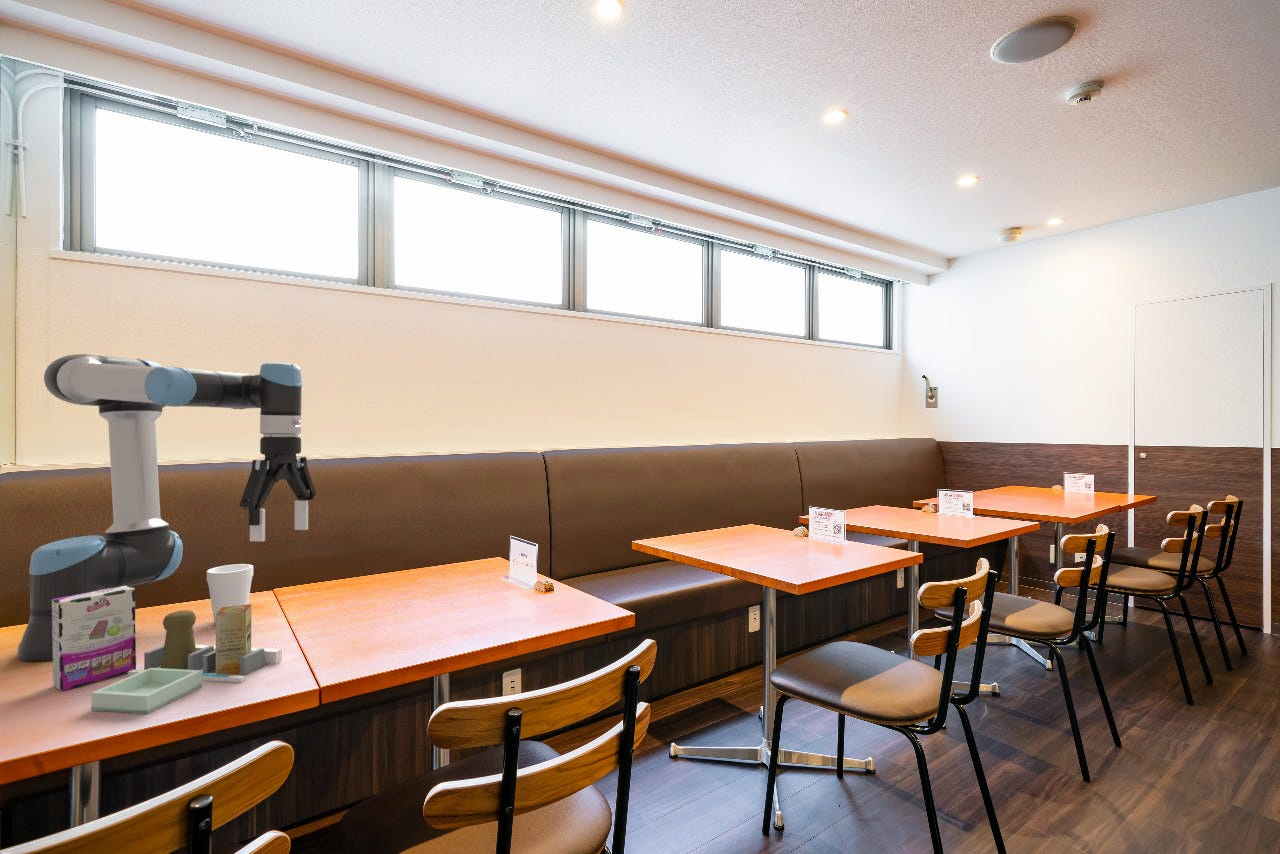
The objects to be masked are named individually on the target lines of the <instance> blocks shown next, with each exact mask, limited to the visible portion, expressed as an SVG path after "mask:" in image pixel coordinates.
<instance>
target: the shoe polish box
mask: <svg viewBox="0 0 1280 854" xmlns="http://www.w3.org/2000/svg"><path fill="white" fill-rule="evenodd" d="M215 646H216V670H215V674H231V675H240V658H241V657H243V656H245V655H247V654H249V653H251V647H252V604H250V603H249V604H248V605H240V606H230V607H222V608H221V609H220V610H219V611H218V612H217V614H216V624H215Z"/></svg>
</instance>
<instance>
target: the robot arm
mask: <svg viewBox="0 0 1280 854" xmlns="http://www.w3.org/2000/svg"><path fill="white" fill-rule="evenodd" d="M260 365H261V366H260V371H259V373H237V372H227V371H226V372H224V371H215V370H203V369H202V370H201V369H196V368H195V369H194V368H182V367H179V366H178V367H176V366H162V365H161V364H160V363H157V362H154V361H152V360H151V361H150V360H143V359H140V358H128V357H118V356H116V357H115V356H105V355H94V354H87V353H85V354H84V353H82V354H77V353H76V354H70V355H65V356H62V357H59V358H57V359H55V360H53V361H52V362H51V363H49V365H48V366H47V367H46V369H45V371H44V375H43V382H44V385H45V387H46V389H47V391H48V392H50V395H53V396H54V397H55V398H57V399H58V400H61V401H63V402H66V403H68V404H69V403H70V404H73V405H78V406H92V407H98V415H99V416H100V417H101V418H103V419H104V420H105V421H107V423H108V424H107V425H108V426H107V427H108V440H109V441H108V442H109V459H110V460H109V461H110V479H111V493H112V494H111V497H112V501H111V502H112V516H113V517H112V518H113V523H112V524H111V526H109V528H107V529H106V530H105V537H104V536H103V535H100V534H99V535H97V534H95V535H94V534H93V535H83V536H78V537H69V538H63V539H59V540H56V541H52V542H49V543H45V544H43V545H40V546H39V547H38V548H36V549H35V550H34V551H32V553H31V555H30V563H29V568H28V573H29V621H28V622H27V625H26V627H25V630H24V633H23V635H22V638H21V641H20V643H18V647H17V659H18V660H21V661H25V662H41V661H53V644H52V641H53V636H52V599H56V598H62V597H67V596H72V595H77V594H83V593H88V592H93V591H99V590H104V589H109V588H115V587H121V586H129V587H134V586H137V585H142V584H152V583H154V582H156V581H159V580H163V579H166V578H168V577H170V576H171V575H173V573H174V572H176V570H177V569H178V567H179V566H180V564H181V562H182V557H183V552H184V551H183V550H184V549H183V548H184V547H183V546H184V545H183V541H182V539H180V536H179V534H178V533H177V532H175V531H173V530H171V529H170V524H169V523H168V522H166V521H165V520H163V519H162V518H161V517H162V516H161V506H160V505H161V502H160V487H159V486H160V485H159V484H160V483H159V468H158V452H157V451H158V449H157V435H156V434H157V433H156V420H157V419H159V418H160V417H161V416H162V415H163V408H165V407H178V408H179V407H188V408H189V407H193V408H194V407H196V408H197V407H199V408H218V409H219V408H220V409H221V408H222V409H223V408H224V409H234V410H245V409H260V413H259V415H260V417H259V433H260V434H261V435H262V436H261V438H260V440H259V446H260V447H259V452H260V454H262V455H264V459H253V460H252V461H251V470H250V474H249V477H248V480H247V482H246V485H245V488H244V490H243V494H242V496H241V499H240V501H239V507H241V508H242V509H244V510H248V525H249V542H265V541H266V508H263V506H264V505H265V502H266V500H267V499H268V497H269V496H270V493H271V491H272V490H273V487H275V484H276V483H278V482H279V481H282V480H285V481H286V482H287V484H288V486H289V487H290V489H291V490H292V492H293V494H294V495H295V497H296V498H297V500H294V530H295V531H296V530H297V531H298V530H299V531H307V530H309V512H310V511H309V510H310V509H309V507H310V501H313V500H314V498H315V496H317V495H316V494H317V493H316V489H315V487H314V483H313V480H312V477H311V474H310V473H311V472H310V470H309V468H308V461H307V460H308V459H307V457H306V456H297V455H298V454H300V453H302V438H301V437H300V436H299V435H301V433H302V388H303V387H302V386H303V383H302V372H301V371H302V370H301V368H300V366H298V365H297V364H292V363H286V362H265V363H263V364H260Z"/></svg>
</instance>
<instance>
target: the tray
mask: <svg viewBox="0 0 1280 854" xmlns="http://www.w3.org/2000/svg"><path fill="white" fill-rule="evenodd" d="M143 670H144V669H143ZM202 673H203V670H202V669H200V670H183V669H166V668H161V667H157V668H149V669H146V670H144V671H142V672H139V673H137V674H135V675H132V676H128V677H125V678H123V679H120V680H119V681H116V682H114V683H112V684H110V685H109V684H108V685H107V686H104V687H102V688H100V689H97V690H95V691H93V692H91V696H90V697H91V701H90V702H91V704H90V705H91V711H92V712H93V711H94V712H108V713H109V712H110V713H120V714H121V713H122V714H123V713H124V714H136V715H138V714H140V715H148V714H151V713H153V712H155V711H157V710H158V709H161V708H162V707H163V708H164V706H167V705H168V704H170V703H172V702H174V701H177V700H178V699H180V698H182V697H185V696H187V695H188V694H190V693H192V692H194V691H196V690H199V689H201V688H203V686H202V684H203V680H202Z"/></svg>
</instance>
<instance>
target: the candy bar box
mask: <svg viewBox="0 0 1280 854" xmlns="http://www.w3.org/2000/svg"><path fill="white" fill-rule="evenodd" d="M135 589H136V588H135V587H133V586H130V587H129V586H121V587H115V588H109V589H104V590H99V591H93V592H88V593H83V594H77V595H72V596H67V597H62V598H56V599H52V636H53V641H52V644H53V660H52V682H53V683H52V685H53V687H54V688H55V689H57V691H59V692H66V691H69V690H73V689H77V688H80V687H83V686H87V685H90V684H91V685H92V684H94V683H97V682H101V681H105V680H108V679H112V678H116V677H118V676H119V677H120V676H122V675H125V674H128V672H129V671H131V670H137V649H136V648H137V647H136V645H137V639H136V638H137V637H136V590H135Z"/></svg>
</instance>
